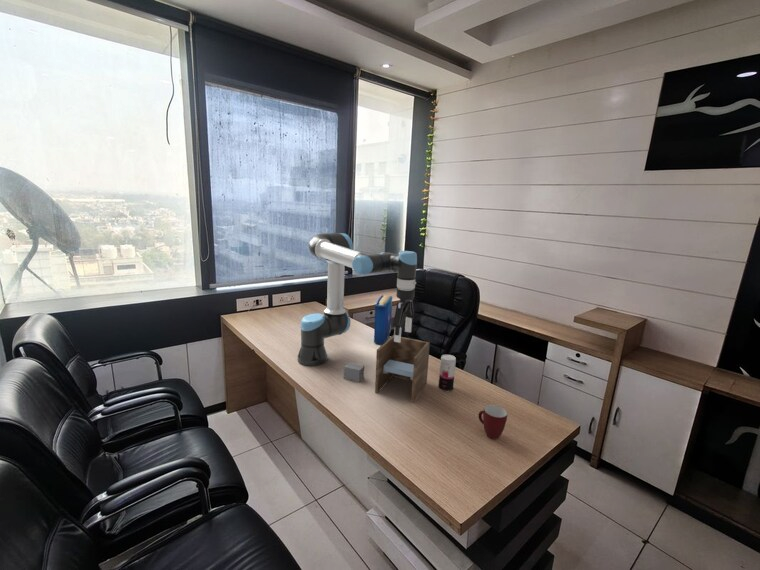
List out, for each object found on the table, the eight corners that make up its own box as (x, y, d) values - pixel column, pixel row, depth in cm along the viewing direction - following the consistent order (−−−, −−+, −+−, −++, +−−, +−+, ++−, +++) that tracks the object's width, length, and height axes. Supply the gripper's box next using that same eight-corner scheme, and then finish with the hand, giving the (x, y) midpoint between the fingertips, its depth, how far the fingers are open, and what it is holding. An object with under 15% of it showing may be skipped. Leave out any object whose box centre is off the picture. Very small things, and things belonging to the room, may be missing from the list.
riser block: (343, 378, 166) (343, 366, 165) (348, 374, 171) (349, 362, 169) (359, 382, 163) (359, 370, 162) (363, 377, 168) (364, 366, 166)
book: (384, 345, 207) (386, 304, 201) (372, 344, 208) (374, 303, 203) (390, 333, 227) (392, 295, 222) (379, 332, 229) (381, 294, 223)
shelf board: (383, 370, 156) (383, 365, 155) (389, 364, 162) (389, 359, 162) (414, 378, 151) (414, 372, 150) (418, 371, 157) (419, 366, 156)
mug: (470, 431, 131) (473, 407, 129) (482, 423, 136) (484, 399, 134) (497, 446, 123) (500, 420, 121) (508, 436, 129) (511, 411, 127)
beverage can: (445, 393, 157) (448, 361, 154) (435, 386, 163) (438, 356, 159) (456, 389, 161) (459, 358, 157) (446, 383, 166) (448, 353, 163)
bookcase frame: (374, 392, 155) (376, 349, 151) (391, 374, 172) (393, 335, 168) (414, 402, 148) (417, 358, 144) (426, 382, 166) (429, 342, 161)
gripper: (404, 296, 136) (401, 348, 141) (423, 284, 158) (419, 329, 163) (386, 293, 139) (383, 344, 143) (407, 282, 161) (404, 326, 166)
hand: (402, 336), depth 153 cm, fingers open, 13 cm apart
